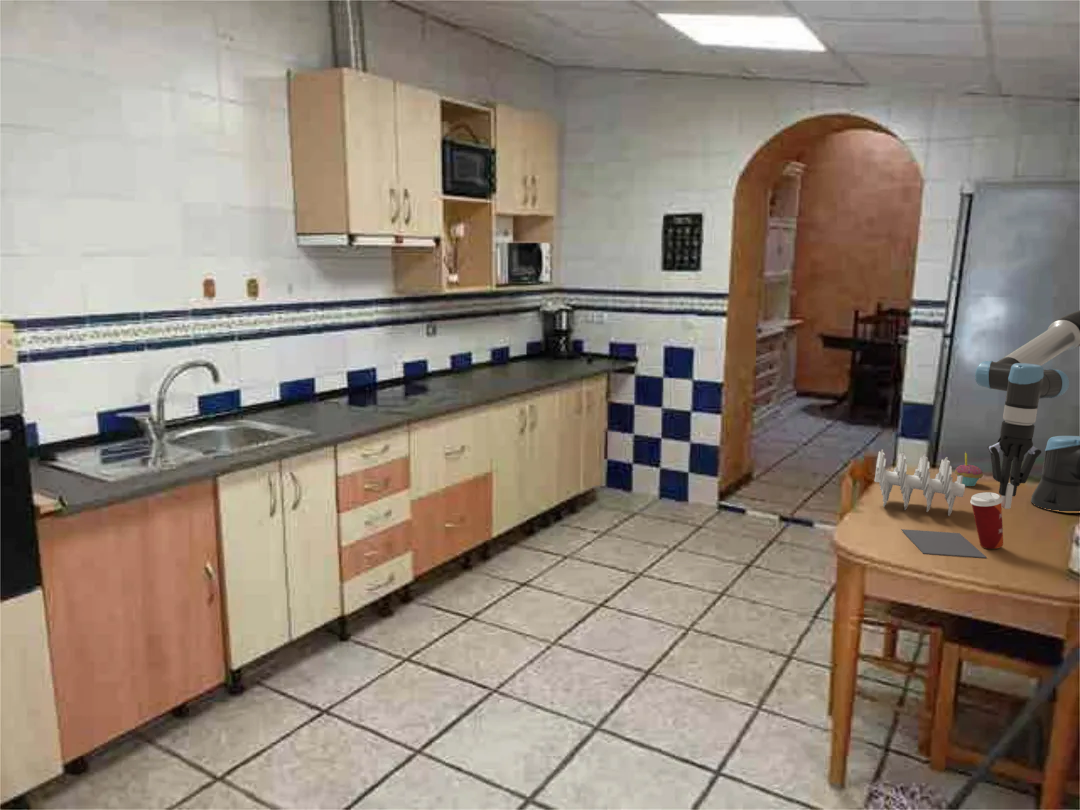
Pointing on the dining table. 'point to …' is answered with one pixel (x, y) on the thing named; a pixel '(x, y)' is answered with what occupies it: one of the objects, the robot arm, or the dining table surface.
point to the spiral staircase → (918, 481)
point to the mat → (943, 543)
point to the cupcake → (969, 473)
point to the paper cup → (988, 519)
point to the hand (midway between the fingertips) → (1005, 507)
